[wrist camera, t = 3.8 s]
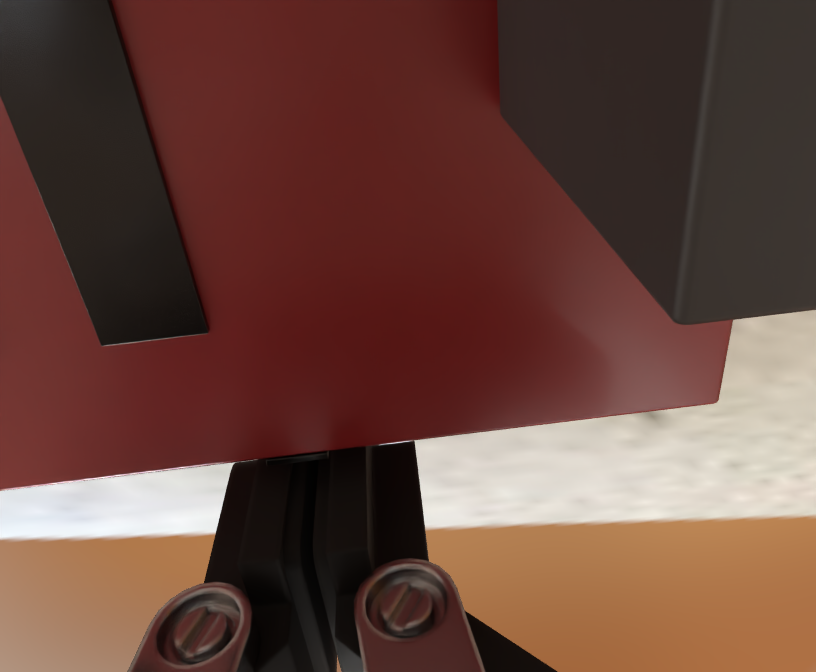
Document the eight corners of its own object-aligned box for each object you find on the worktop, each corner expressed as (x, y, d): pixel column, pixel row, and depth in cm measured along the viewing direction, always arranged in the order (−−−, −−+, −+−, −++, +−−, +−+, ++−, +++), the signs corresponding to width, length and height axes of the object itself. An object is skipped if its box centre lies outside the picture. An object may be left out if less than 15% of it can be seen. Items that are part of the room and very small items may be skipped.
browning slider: (491, -142, 5) (757, -304, 2) (692, -165, 5) (1343, -370, 2) (498, 118, 6) (673, 331, 3) (665, 98, 6) (1044, 287, 3)
